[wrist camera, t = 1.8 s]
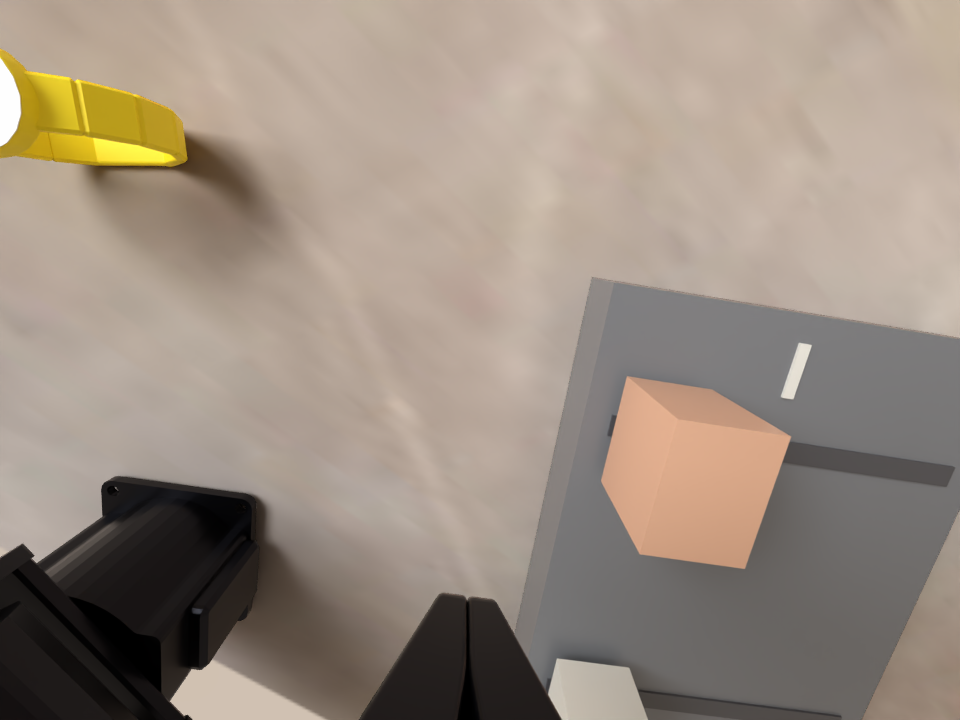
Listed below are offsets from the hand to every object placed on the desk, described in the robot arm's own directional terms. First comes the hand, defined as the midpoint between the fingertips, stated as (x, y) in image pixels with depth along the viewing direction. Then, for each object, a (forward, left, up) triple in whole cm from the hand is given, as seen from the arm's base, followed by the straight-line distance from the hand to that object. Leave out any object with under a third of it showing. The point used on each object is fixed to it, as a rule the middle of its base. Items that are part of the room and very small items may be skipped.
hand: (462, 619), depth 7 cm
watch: (-14, +7, -13) cm, 20 cm away
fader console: (+12, -6, -13) cm, 18 cm away
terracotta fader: (+6, 0, -9) cm, 11 cm away
